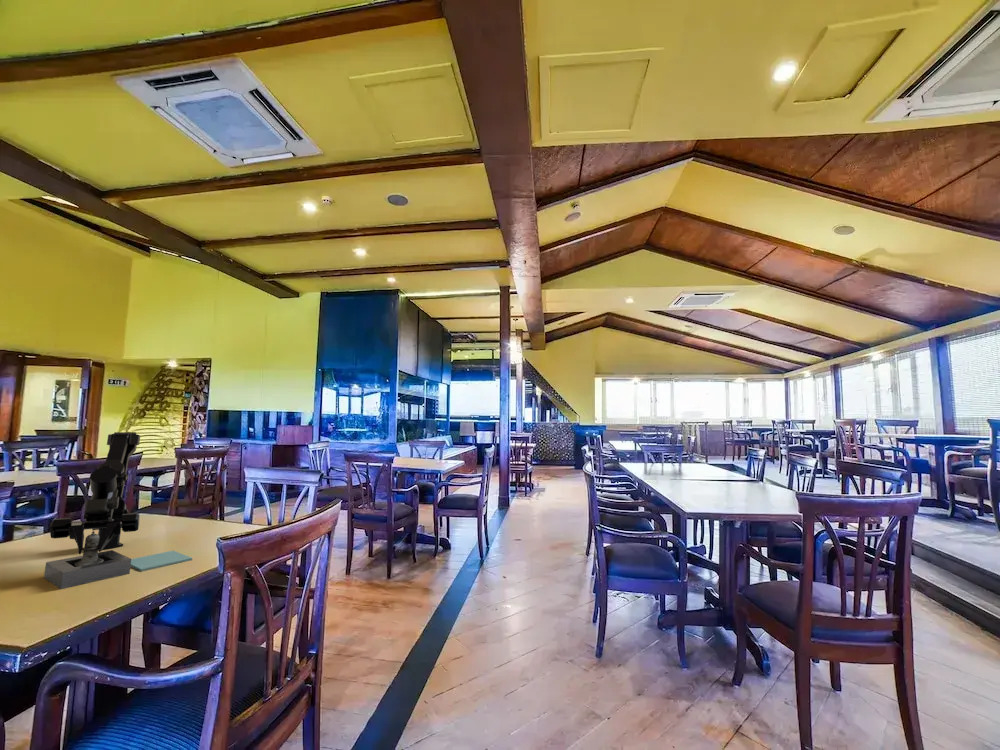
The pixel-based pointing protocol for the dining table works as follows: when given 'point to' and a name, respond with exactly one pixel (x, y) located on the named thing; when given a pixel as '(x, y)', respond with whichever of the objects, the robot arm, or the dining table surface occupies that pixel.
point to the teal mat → (158, 560)
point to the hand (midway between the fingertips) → (89, 552)
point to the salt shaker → (90, 551)
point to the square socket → (86, 569)
